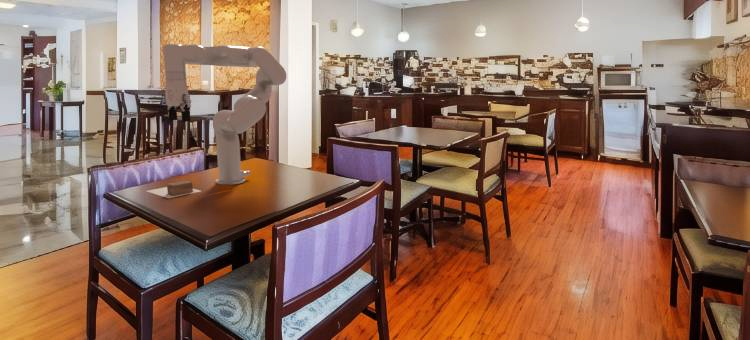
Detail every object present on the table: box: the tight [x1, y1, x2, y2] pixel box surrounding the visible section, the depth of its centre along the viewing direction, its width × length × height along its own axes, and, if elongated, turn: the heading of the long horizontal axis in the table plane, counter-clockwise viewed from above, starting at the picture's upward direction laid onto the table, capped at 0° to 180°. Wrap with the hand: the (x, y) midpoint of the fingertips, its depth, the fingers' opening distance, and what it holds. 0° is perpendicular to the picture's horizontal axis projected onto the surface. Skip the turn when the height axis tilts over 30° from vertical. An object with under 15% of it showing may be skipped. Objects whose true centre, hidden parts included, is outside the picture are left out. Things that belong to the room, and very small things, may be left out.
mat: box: [146, 186, 202, 199], centre depth 184 cm, size 14×18×1 cm
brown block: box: [166, 180, 194, 196], centre depth 181 cm, size 4×8×4 cm, turn 142°
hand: (179, 120), depth 182 cm, fingers open, 9 cm apart
